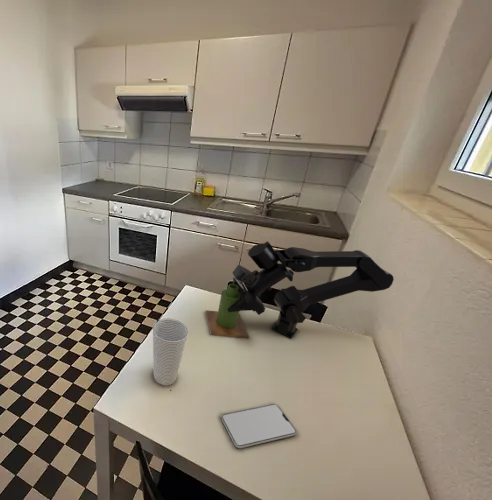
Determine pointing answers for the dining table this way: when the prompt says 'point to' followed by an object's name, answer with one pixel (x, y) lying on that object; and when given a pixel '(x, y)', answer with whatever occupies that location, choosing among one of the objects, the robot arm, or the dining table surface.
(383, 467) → the dining table surface
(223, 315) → the oil bottle
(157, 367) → the cup
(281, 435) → the smartphone
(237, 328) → the trivet
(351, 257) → the robot arm
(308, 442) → the dining table surface
